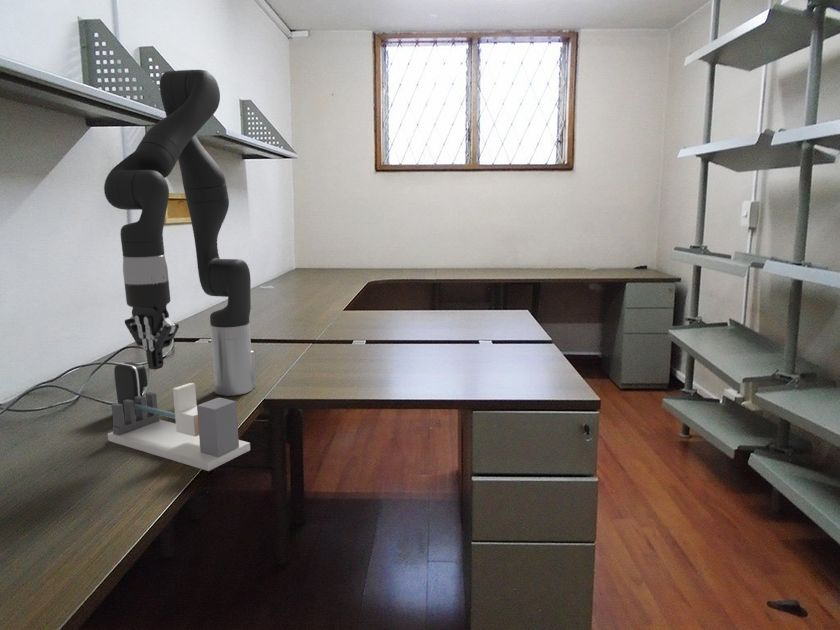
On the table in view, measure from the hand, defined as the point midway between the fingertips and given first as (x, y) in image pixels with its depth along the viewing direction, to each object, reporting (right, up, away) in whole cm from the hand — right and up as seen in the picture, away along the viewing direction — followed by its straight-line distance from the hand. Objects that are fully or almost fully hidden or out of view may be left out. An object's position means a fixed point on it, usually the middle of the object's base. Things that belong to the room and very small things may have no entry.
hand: (155, 368), depth 110 cm
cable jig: (+4, -15, 0) cm, 16 cm away
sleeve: (+9, -12, -3) cm, 15 cm away
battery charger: (-13, -12, +18) cm, 26 cm away
